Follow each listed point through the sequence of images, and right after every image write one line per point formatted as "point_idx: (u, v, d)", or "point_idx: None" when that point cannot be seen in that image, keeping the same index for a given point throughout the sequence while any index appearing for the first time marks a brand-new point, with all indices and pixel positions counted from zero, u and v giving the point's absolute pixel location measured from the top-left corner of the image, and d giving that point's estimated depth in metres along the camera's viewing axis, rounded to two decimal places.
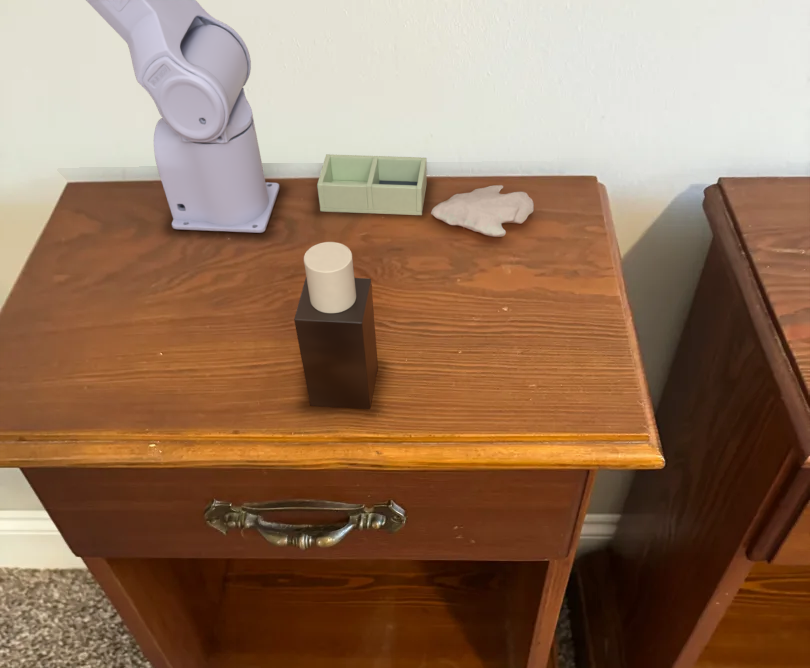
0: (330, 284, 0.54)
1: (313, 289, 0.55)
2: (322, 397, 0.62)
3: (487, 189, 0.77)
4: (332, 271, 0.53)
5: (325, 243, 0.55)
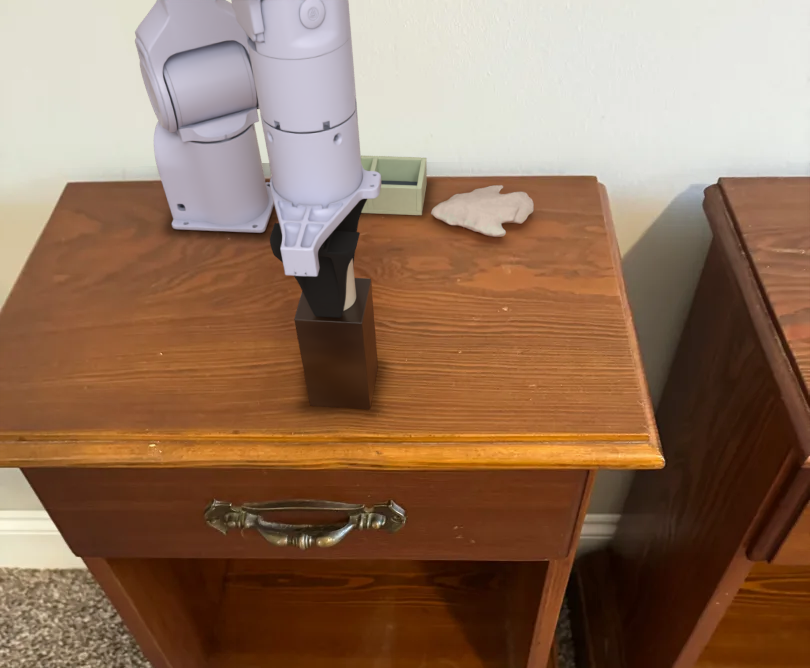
0: None
1: None
2: (322, 397, 0.62)
3: (487, 189, 0.77)
4: None
5: None
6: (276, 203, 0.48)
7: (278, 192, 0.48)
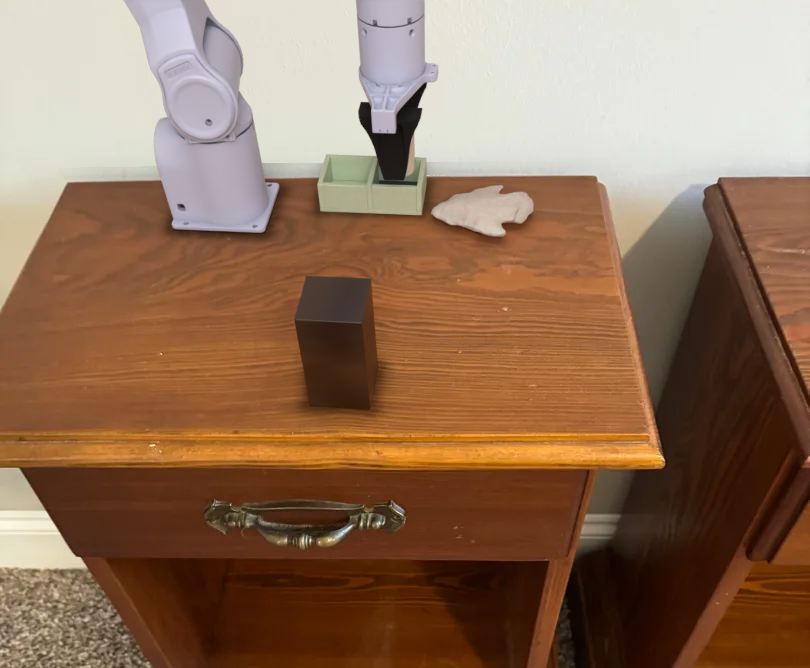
0: None
1: None
2: (322, 397, 0.62)
3: (487, 189, 0.77)
4: None
5: None
6: (365, 83, 0.67)
7: (365, 76, 0.68)
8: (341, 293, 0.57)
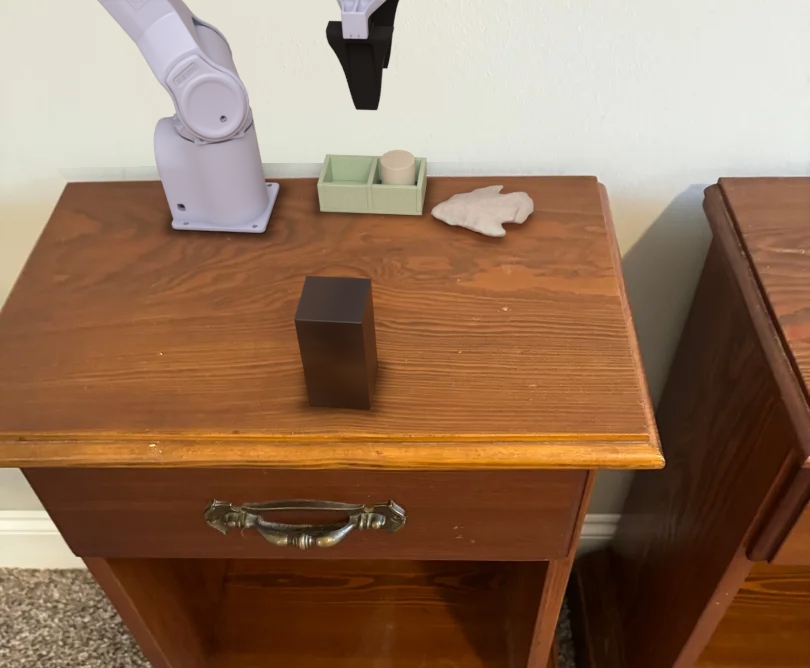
0: (399, 179, 0.75)
1: (386, 184, 0.76)
2: (322, 397, 0.62)
3: (487, 189, 0.77)
4: (401, 168, 0.75)
5: (395, 150, 0.76)
6: None
7: None
8: (341, 293, 0.57)
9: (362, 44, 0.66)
